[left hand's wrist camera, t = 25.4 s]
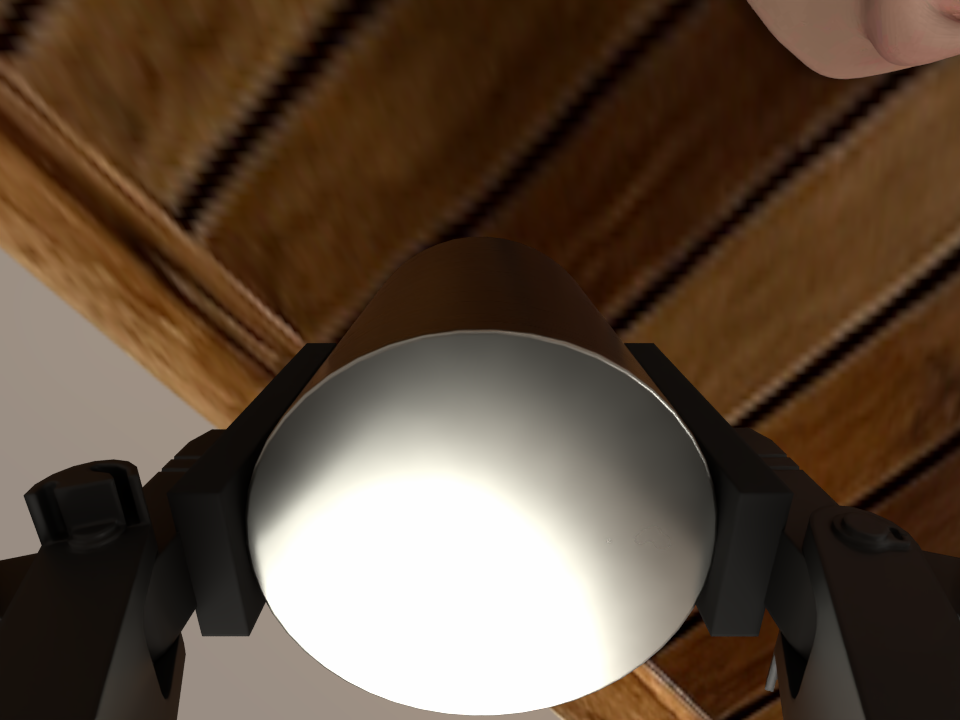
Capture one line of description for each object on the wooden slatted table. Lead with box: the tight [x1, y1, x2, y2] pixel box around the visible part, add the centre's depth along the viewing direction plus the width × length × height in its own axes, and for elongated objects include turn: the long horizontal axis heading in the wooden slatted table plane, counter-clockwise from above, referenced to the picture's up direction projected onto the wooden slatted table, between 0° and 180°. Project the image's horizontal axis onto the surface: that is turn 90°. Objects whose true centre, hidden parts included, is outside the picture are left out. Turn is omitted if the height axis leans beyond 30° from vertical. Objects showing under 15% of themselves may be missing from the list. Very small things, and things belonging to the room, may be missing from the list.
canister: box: [245, 237, 718, 716], centre depth 12 cm, size 7×7×9 cm
